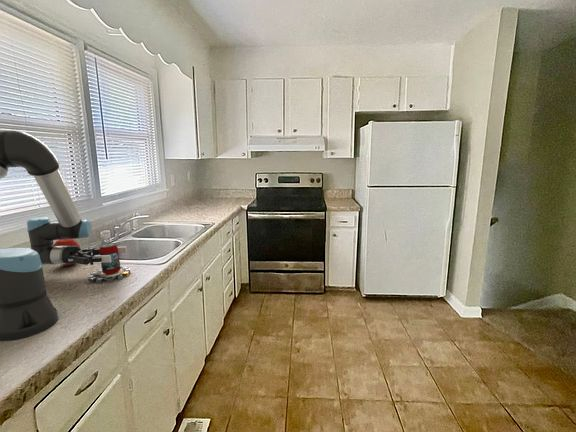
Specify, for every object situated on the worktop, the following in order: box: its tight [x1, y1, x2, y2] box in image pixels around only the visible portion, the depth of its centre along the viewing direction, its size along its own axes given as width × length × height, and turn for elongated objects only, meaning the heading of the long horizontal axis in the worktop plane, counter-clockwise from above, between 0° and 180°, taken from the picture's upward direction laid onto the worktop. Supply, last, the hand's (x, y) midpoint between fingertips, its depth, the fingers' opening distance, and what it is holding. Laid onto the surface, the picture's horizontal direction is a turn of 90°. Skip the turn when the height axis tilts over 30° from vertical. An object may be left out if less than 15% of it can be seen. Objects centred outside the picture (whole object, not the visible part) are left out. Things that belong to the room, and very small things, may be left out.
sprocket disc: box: [88, 265, 131, 284], centre depth 133 cm, size 15×15×2 cm
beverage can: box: [99, 242, 121, 275], centre depth 132 cm, size 7×7×12 cm
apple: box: [53, 239, 81, 267], centre depth 147 cm, size 10×10×14 cm
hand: (118, 254), depth 131 cm, fingers open, 11 cm apart
